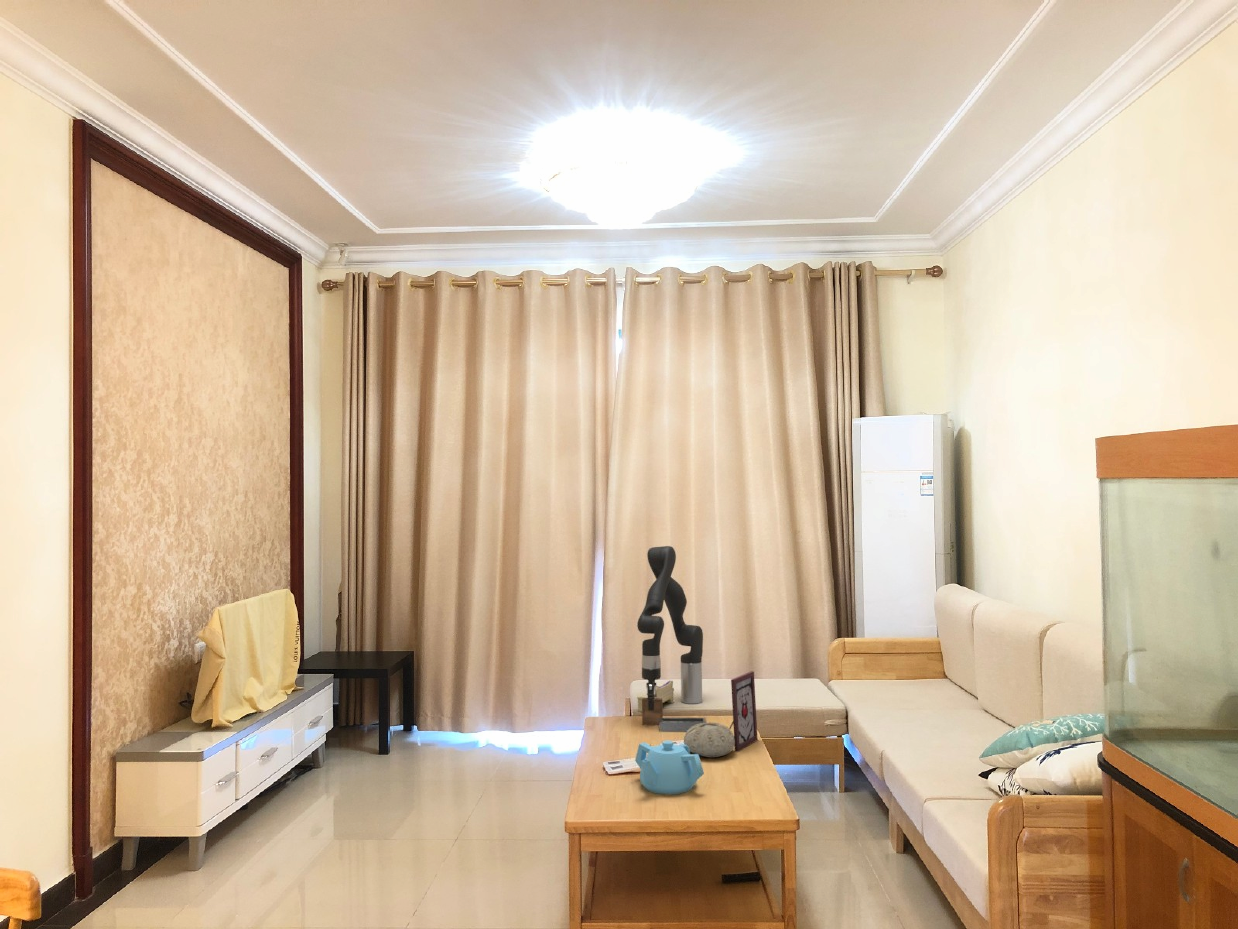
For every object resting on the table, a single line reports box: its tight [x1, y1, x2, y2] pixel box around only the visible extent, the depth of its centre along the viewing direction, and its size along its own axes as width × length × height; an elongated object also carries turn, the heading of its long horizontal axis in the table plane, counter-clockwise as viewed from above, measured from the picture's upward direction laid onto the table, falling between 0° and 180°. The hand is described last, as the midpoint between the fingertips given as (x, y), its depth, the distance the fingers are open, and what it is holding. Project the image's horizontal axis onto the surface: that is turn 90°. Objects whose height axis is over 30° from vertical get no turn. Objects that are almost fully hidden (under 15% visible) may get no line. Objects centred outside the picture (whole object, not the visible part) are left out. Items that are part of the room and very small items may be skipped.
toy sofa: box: [636, 680, 675, 713], centre depth 362 cm, size 21×9×10 cm, turn 155°
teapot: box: [634, 740, 705, 795], centre depth 263 cm, size 19×19×14 cm
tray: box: [658, 717, 707, 733], centre depth 327 cm, size 7×18×4 cm, turn 86°
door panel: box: [641, 698, 664, 726], centre depth 335 cm, size 3×8×10 cm, turn 86°
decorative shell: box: [683, 721, 735, 758], centre depth 295 cm, size 18×18×10 cm
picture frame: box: [728, 670, 758, 753], centre depth 307 cm, size 17×10×25 cm, turn 146°
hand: (651, 707), depth 334 cm, fingers open, 8 cm apart
